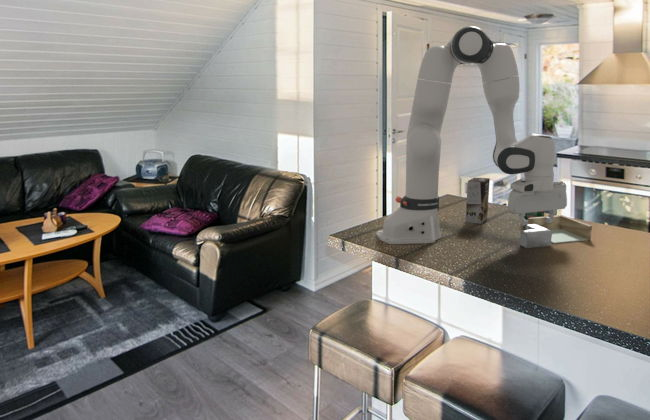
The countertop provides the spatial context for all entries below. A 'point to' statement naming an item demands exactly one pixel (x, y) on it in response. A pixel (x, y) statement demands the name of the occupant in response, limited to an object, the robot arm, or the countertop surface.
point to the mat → (564, 236)
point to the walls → (564, 225)
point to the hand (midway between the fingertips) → (536, 223)
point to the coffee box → (477, 200)
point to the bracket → (535, 236)
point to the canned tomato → (534, 214)
